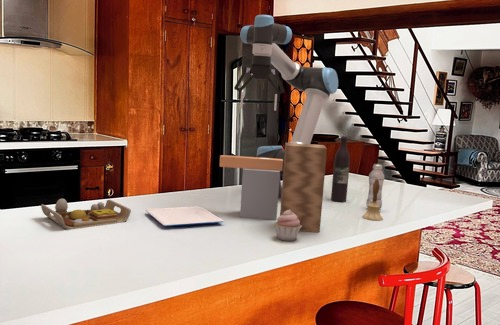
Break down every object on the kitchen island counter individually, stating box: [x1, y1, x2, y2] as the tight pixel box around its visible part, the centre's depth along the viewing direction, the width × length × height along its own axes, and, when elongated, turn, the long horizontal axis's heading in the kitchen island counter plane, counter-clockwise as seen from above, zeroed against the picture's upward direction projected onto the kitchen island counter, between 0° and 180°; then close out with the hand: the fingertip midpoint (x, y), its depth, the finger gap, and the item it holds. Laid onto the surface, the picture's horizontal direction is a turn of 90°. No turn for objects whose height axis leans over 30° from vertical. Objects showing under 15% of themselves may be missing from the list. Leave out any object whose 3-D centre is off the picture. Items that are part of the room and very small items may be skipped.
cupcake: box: [273, 210, 302, 242], centre depth 169 cm, size 9×9×10 cm
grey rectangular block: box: [239, 168, 281, 221], centre depth 197 cm, size 14×10×18 cm
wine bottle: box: [330, 135, 351, 203], centre depth 234 cm, size 7×7×30 cm
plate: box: [145, 206, 225, 227], centre depth 185 cm, size 22×22×2 cm
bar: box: [219, 154, 283, 171], centre depth 196 cm, size 24×4×4 cm, turn 88°
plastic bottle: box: [365, 163, 385, 210], centre depth 221 cm, size 6×7×20 cm
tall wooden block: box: [279, 142, 328, 233], centre depth 183 cm, size 14×10×30 cm
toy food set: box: [40, 198, 132, 231], centre depth 176 cm, size 25×18×8 cm
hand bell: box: [362, 179, 384, 222], centre depth 205 cm, size 8×8×16 cm
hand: (258, 109), depth 205 cm, fingers open, 13 cm apart
